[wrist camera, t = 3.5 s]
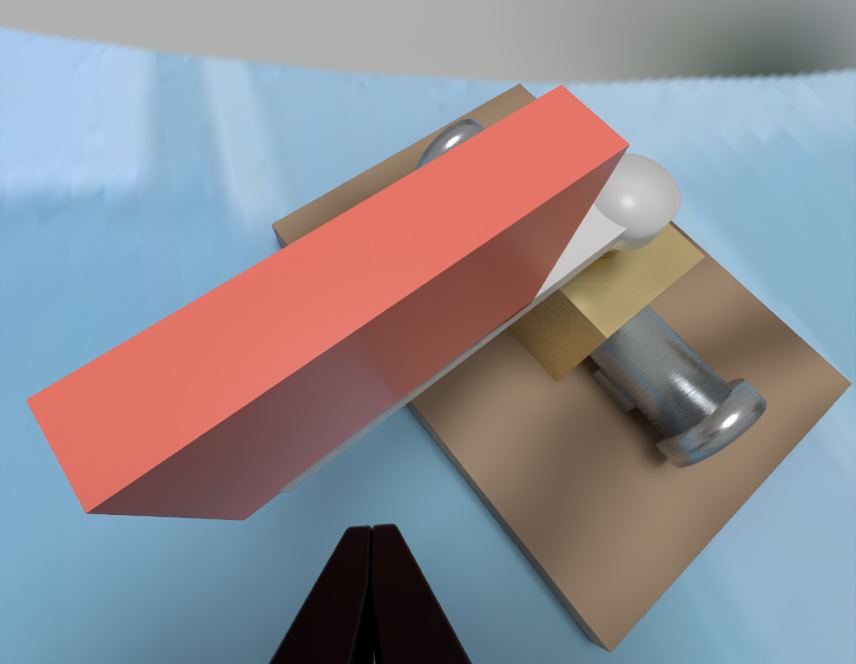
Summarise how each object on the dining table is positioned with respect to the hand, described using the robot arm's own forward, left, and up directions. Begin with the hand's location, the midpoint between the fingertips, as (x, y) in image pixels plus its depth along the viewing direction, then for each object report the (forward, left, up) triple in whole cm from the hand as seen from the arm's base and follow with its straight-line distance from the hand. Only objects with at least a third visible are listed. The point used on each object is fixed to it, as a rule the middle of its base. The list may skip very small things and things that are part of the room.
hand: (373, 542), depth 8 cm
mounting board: (+12, 0, -12) cm, 17 cm away
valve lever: (+6, +1, -3) cm, 7 cm away
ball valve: (+12, 0, -10) cm, 16 cm away
